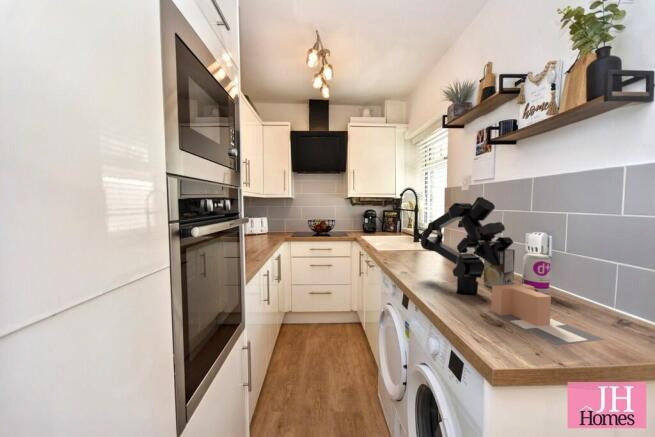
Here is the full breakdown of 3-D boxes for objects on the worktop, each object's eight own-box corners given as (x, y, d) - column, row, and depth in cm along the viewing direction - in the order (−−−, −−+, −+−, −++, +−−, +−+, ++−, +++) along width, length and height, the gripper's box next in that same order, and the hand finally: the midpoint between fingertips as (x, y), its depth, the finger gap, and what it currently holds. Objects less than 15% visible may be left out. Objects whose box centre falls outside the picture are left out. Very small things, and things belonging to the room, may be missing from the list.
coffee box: (514, 289, 109) (516, 249, 108) (503, 291, 106) (505, 250, 106) (492, 283, 117) (494, 246, 117) (482, 284, 115) (483, 247, 114)
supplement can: (553, 298, 99) (556, 257, 98) (528, 296, 101) (530, 256, 100) (541, 291, 107) (543, 253, 106) (517, 289, 108) (519, 252, 108)
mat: (485, 311, 85) (485, 310, 85) (524, 308, 88) (524, 307, 88) (556, 346, 64) (556, 345, 64) (604, 340, 67) (604, 339, 67)
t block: (491, 311, 85) (492, 285, 84) (523, 308, 87) (524, 283, 87) (525, 327, 73) (526, 298, 73) (560, 323, 76) (562, 295, 76)
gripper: (463, 214, 92) (488, 251, 82) (509, 214, 96) (538, 250, 86) (448, 234, 100) (468, 271, 90) (491, 234, 104) (515, 269, 94)
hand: (497, 265), depth 90 cm, fingers closed
